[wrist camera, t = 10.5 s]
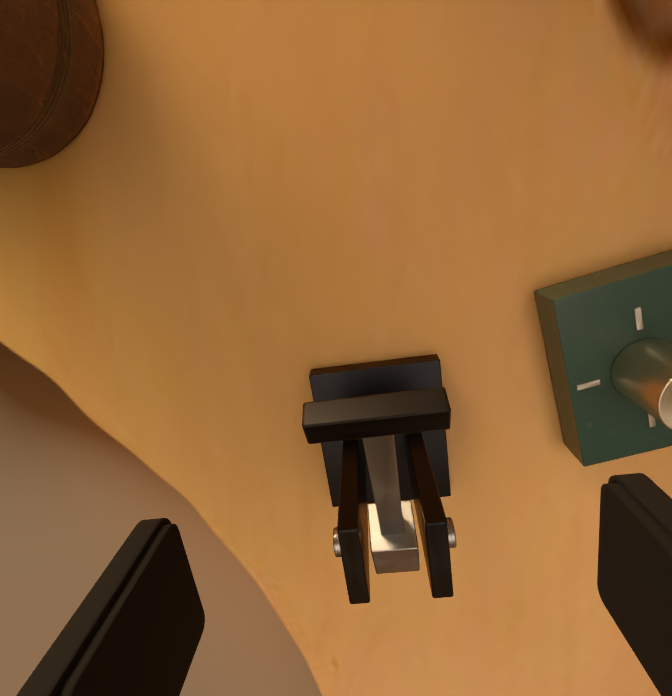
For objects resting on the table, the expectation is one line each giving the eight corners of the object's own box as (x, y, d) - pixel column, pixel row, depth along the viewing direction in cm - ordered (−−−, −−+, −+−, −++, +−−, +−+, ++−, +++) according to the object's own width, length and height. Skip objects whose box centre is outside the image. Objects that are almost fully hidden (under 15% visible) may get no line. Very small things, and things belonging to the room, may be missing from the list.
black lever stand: (310, 369, 31) (280, 474, 19) (437, 353, 30) (490, 453, 18) (333, 497, 34) (320, 656, 22) (447, 486, 34) (498, 645, 21)
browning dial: (616, 406, 28) (667, 446, 23) (605, 350, 26) (657, 380, 22) (682, 388, 27) (748, 425, 22) (674, 329, 26) (742, 356, 21)
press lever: (303, 388, 16) (300, 443, 14) (440, 371, 15) (455, 426, 14) (347, 530, 24) (349, 576, 22) (438, 522, 23) (447, 568, 22)
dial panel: (533, 290, 29) (554, 300, 26) (677, 247, 27) (717, 252, 24) (563, 444, 32) (585, 468, 29) (693, 411, 31) (730, 433, 28)
